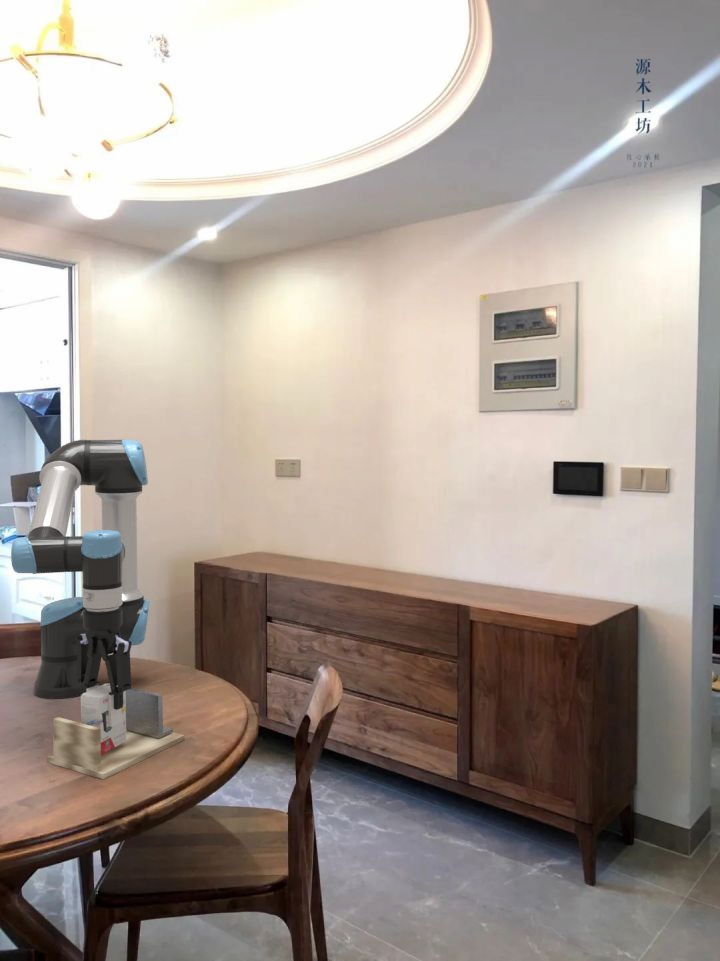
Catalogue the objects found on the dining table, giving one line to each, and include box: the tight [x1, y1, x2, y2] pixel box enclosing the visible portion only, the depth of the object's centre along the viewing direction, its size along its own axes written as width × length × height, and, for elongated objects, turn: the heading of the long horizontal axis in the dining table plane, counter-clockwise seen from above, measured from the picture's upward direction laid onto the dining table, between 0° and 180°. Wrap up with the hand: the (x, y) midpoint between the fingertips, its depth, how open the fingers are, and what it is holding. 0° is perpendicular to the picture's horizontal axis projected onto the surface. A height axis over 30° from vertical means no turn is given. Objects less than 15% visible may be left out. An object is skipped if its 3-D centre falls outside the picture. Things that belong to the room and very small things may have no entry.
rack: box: [46, 716, 185, 780], centre depth 153 cm, size 16×22×9 cm
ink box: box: [80, 683, 126, 755], centre depth 150 cm, size 9×5×12 cm, turn 162°
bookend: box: [126, 687, 174, 738], centre depth 161 cm, size 10×4×9 cm, turn 60°
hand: (104, 721), depth 150 cm, fingers closed on ink box, 6 cm apart
